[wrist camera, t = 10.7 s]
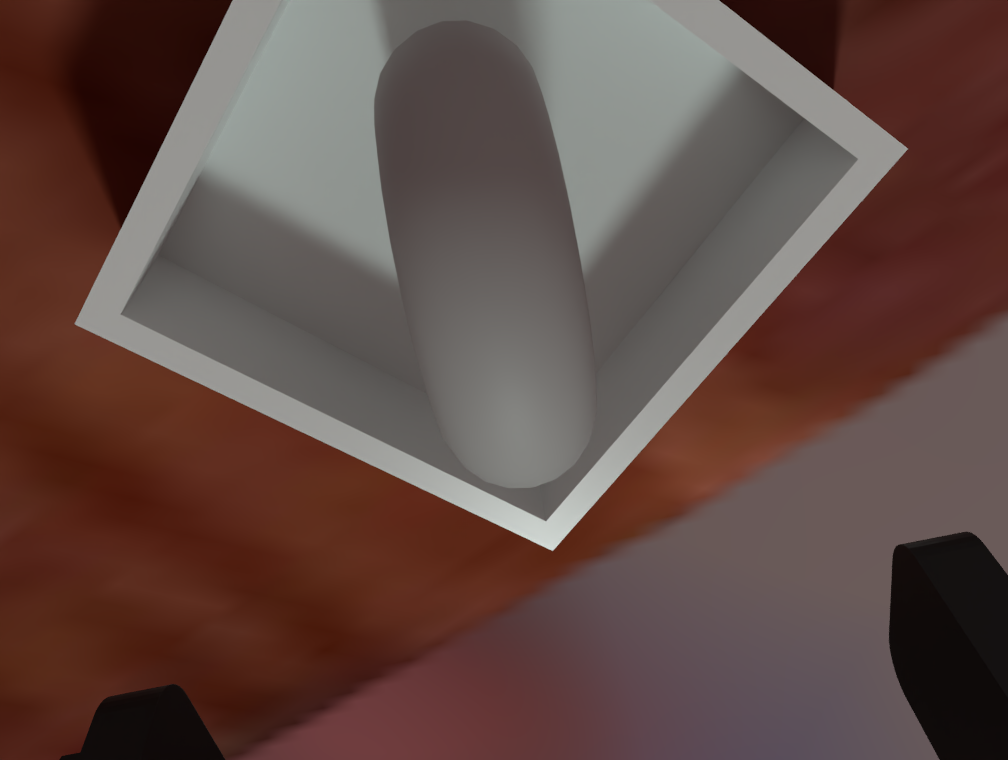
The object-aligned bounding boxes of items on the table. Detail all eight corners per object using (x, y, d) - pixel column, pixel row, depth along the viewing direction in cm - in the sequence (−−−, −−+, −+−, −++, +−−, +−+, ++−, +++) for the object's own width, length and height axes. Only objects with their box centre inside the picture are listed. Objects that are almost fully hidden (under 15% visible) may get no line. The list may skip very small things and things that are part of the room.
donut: (568, 334, 27) (633, 573, 18) (452, 356, 27) (463, 604, 18) (511, -32, 21) (563, 62, 13) (368, -2, 22) (325, 109, 13)
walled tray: (128, 249, 25) (74, 323, 22) (380, -256, 20) (367, -277, 16) (537, 458, 30) (552, 550, 26) (833, 98, 25) (908, 148, 21)
